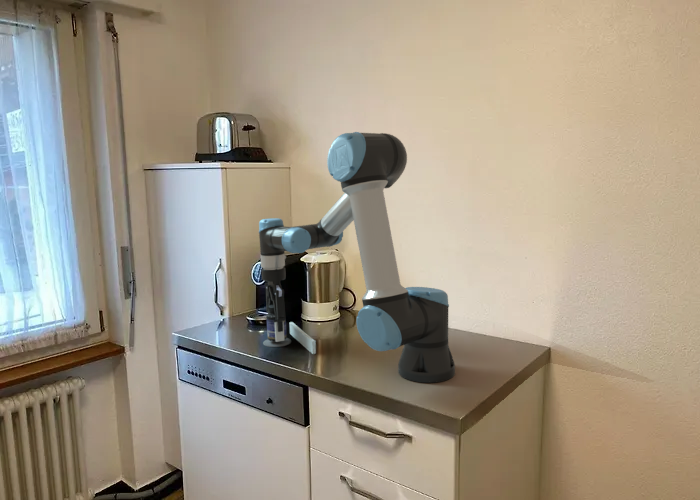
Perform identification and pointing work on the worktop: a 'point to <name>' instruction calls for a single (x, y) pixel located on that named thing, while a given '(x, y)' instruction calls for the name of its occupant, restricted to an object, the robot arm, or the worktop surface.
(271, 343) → the coaster
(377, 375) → the worktop surface
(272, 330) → the pill bottle
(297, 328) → the divider wall
